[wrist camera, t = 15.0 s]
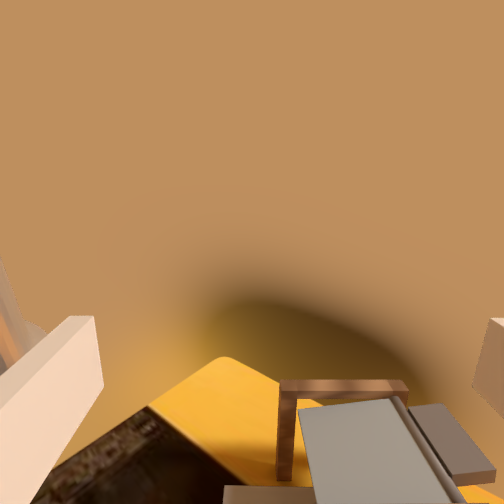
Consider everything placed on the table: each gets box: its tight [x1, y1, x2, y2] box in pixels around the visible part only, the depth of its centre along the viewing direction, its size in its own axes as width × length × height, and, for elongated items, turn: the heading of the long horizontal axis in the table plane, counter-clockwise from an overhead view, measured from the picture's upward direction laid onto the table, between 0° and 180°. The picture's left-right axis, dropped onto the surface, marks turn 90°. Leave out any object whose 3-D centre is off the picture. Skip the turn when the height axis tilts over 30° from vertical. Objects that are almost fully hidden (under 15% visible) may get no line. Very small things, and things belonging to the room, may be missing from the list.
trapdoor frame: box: [276, 380, 489, 504], centre depth 34 cm, size 16×17×15 cm
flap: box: [298, 396, 496, 504], centre depth 32 cm, size 17×12×2 cm
